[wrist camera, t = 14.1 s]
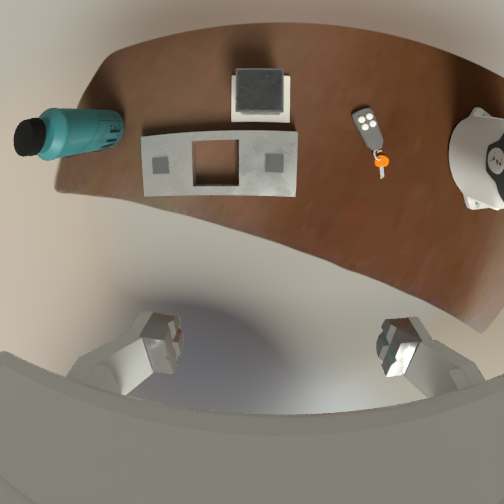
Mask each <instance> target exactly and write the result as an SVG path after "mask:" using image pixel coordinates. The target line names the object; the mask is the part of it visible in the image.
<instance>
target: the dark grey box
mask: <svg viewBox="0 0 504 504" xmlns="http://www.w3.org/2000/svg"><path fill="white" fill-rule="evenodd" d="M235 112H240V113H241V114H242V115H280V113H283V112H284V69H273V68H239V69H236V98H235Z"/></svg>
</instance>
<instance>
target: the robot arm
mask: <svg viewBox="0 0 504 504" xmlns="http://www.w3.org/2000/svg"><path fill="white" fill-rule="evenodd" d="M449 164H450V169H451V173H452V176H453V178H454V181H455V183H456V184H457V186H458V187H459V189H460V190H461V192H462V193H463V195H464V200H465V203H466V206H467V208H469V209H472V210H474V209H482V208H492V209H495V210H499V209H503V208H504V119H502V118H496V117H492V116H490V115H489V114H488V113H487V112H485V111H484V110H483V109H481V108H478V107H475V108H474V109H473V110H472V112H471V114H470V116H469V117H467V118H466V119H464V120H462V121H461V122H460V123H459V124H458V125H457V126H456V128H455V129H454V131H453V133H452V136H451V140H450V145H449ZM475 202H476V203H475ZM179 326H180V319H179V316H178V315H174V314H166V313H158V312H148V311H142V312H141V313H140V315H139V316H138V318H137V319H136V321H135V322H134V324H133V325H132V327H131V329H130V330H129V332H128V333H127V335H121V336H120V337H118V338H116V339H114V340H112V341H110V342H108V343H106V344H104V345H103V346H100V347H99V348H97V349H95V350H93V351H91V352H89V353H87V354H85V355H83V356H81V357H79V358H78V360H77V361H76V362H75V364H74V365H73V367H72V368H71V370H70V371H69V373H68V374H67V376H66V377H64V376H61V375H59V374H56V373H54V372H51V371H49V370H46V369H44V368H41V367H39V366H37V365H34V364H32V363H30V362H27V361H25V360H23V359H21V358H19V357H17V356H15V355H13V354H11V353H9V352H5V351H2V352H0V504H504V374H502V375H500V376H497V377H495V378H492V379H489V380H487V381H486V380H485V379H484V377H483V376H482V374H481V372H480V371H479V369H478V367H477V366H476V364H475V363H474V362H472V361H470V360H469V359H467V358H465V357H464V356H462V355H460V354H459V353H457V352H455V351H454V350H452V349H450V348H449V347H447V346H445V345H444V344H442V343H440V342H439V341H437V340H432V338H431V336H430V335H429V333H428V332H427V330H426V329H425V327H424V326H423V324H422V323H421V321H420V320H419V318H418V317H407V318H398V319H385V321H384V322H383V324H382V330H383V332H382V333H381V334H380V335H379V336H378V339H377V342H376V351H377V354H378V357H379V358H380V359H382V360H383V363H382V368H383V370H384V373H385V375H386V376H387V377H388V376H397V375H404V377H406V378H407V379H408V380H409V381H410V382H411V383H412V384H413V385H414V386H415V387H416V388H418V389H419V390H420V391H421V392H422V393H423V394H424V395H425V396H426V397H427V399H423V400H418V401H413V402H409V403H403V404H398V405H393V406H387V407H380V408H373V409H366V410H358V411H349V412H337V413H323V414H298V415H271V414H270V415H269V414H246V413H231V412H220V411H209V410H202V409H194V408H187V407H181V406H174V405H168V404H163V403H157V402H153V401H148V400H143V399H139V398H134V397H130V396H126V394H127V393H129V392H130V391H131V390H132V389H134V388H135V387H136V386H137V385H139V384H140V383H141V382H142V381H143V380H145V379H146V378H147V377H148V376H150V375H151V374H152V373H153V372H160V373H168V374H173V373H174V371H175V368H176V365H177V358H176V357H177V356H179V355H180V354H181V351H182V347H183V334H182V332H181V330H180V329H179Z"/></svg>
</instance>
